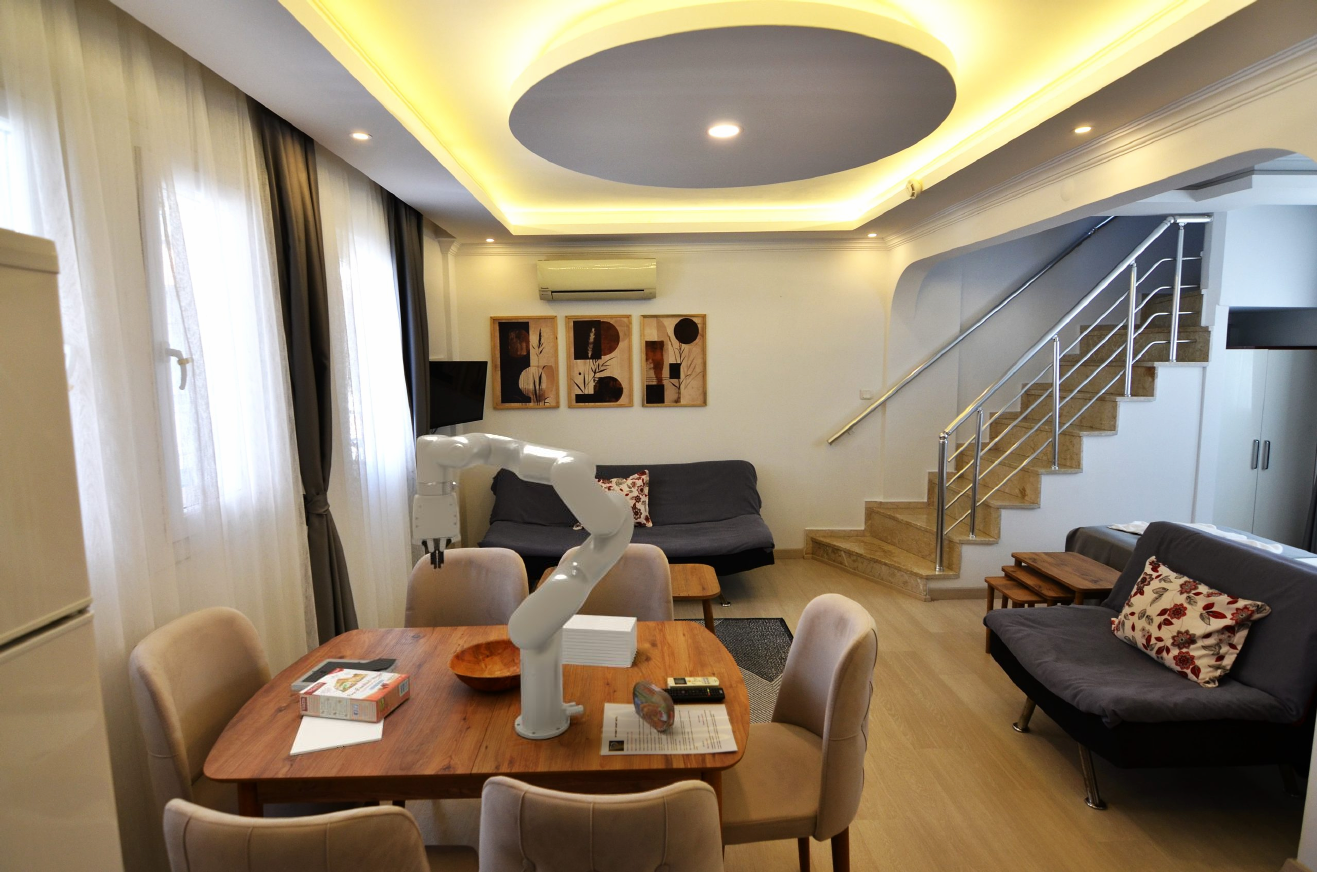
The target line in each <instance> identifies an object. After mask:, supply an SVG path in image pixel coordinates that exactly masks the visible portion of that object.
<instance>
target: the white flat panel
mask: <svg viewBox="0 0 1317 872" xmlns="http://www.w3.org/2000/svg"><path fill="white" fill-rule="evenodd" d="M384 721H385V717H384V718H382V719H381V720H380V721H379V722H368V721H358V720H348V719H338V718H329V717H319V716H309V715H303V717H302V720H301V723H300V726H299V728H298V731H297V733H296V736H295V739H294V742H293V744H292V747H291V750H290V752H289V756H290V757H291V756H297V755H302V754H303V755H304V754H308V753H313V752H314V753H315V752H321V751H325V750H326V751H327V750H332V749H336V748H337V747H338V748H342V747H343V746H344V747H347V746H348V747H350V746H353V745H354V746H355V745H360V744H367V743H373V742H377V741H381V740H382V739H383V738H382V737H383V731H384V730H383V729H384Z"/></svg>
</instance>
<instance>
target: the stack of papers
mask: <svg viewBox="0 0 1317 872" xmlns="http://www.w3.org/2000/svg"><path fill="white" fill-rule="evenodd" d="M637 619H638V618H637V617H633V616H629V617H628V616H611V615H610V616H609V615H592V614H590V615H589V614H575V615H574V616H573V617H572V618H571V619H570V620H569V621H568V622H567V623H566V624H565V625H564V626H563V636H562V665H578V666H579V665H580V666H592V667H593V666H595V667H611V668H612V667H614V668H626V667H632V664H633V663H634V660H635V658H636V655H637V653H636V651H637V649H638V648H637V647H638V646H637V641H638V640H637V638H638V636H637V635H638V634H637V633H638V629H637V627H638V626H637V622H638V620H637ZM637 652H638V651H637ZM635 654H636V655H635ZM634 657H635V658H634ZM632 662H633V663H632Z"/></svg>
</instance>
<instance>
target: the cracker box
mask: <svg viewBox="0 0 1317 872" xmlns="http://www.w3.org/2000/svg"><path fill="white" fill-rule="evenodd" d="M410 678H411V677H410V674H405V673H397V672H395V673H393V672H390V673H384V672H373V671H362V670H351V669H341V668H337V669H335V670H334V671H332V672H331V673H329V674H328V675H326V676H325V677H323V678H321V679H320V680H318V681H317V682H315V683H314V684H312V685H310V686H309V687H307V688H306V689H304V690H300V691H299V693H298V694H299V695H298V697H299V715H301V716H304V715H309V716H319V717H329V718H338V719H348V720H358V721H368V722H379V721H380V720H381V719H382V718H384V719H385V717H386V716H387V715H388V714H389V713H391V712H392V711H393V710H394V709H396V708H397V707H398V706H400V704H402V703H403V702H404V701H405V700H407V699H408V698H409V697H410V696H411V683H410V682H411V681H410V680H411V679H410Z"/></svg>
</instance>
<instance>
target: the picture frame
mask: <svg viewBox="0 0 1317 872" xmlns="http://www.w3.org/2000/svg"><path fill="white" fill-rule="evenodd" d="M397 660H398V659H397V658H382V657H380V658H376V659H372V660H371V659H370V660H367V659H344V658H343V659H342V658H341V659H339V658H338V659H337V658H326V659H325V660H323V661H321V662H320V663H319V664H317V665H316V666H315V667H313V668H312V669H310V670H309V671H308V672H306V673H305V674H304V675H303V676H301V677H299V678H297V679H296V680H295V681H294V682H292V683H291V684H290V690H291V691H302V690H304V689H306V688H307V687H309V686H310V685H312V684H314V683H315V682H317V681H318V680H320V679H321V678H323V677H325V676H326V675H328V674H329V673H331V672H332V671H334V670H335V669H337V668H341V669H351V670H362V671H373V672H384V673H393V671H394V670H396V668H397V667H398V661H397Z"/></svg>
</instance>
